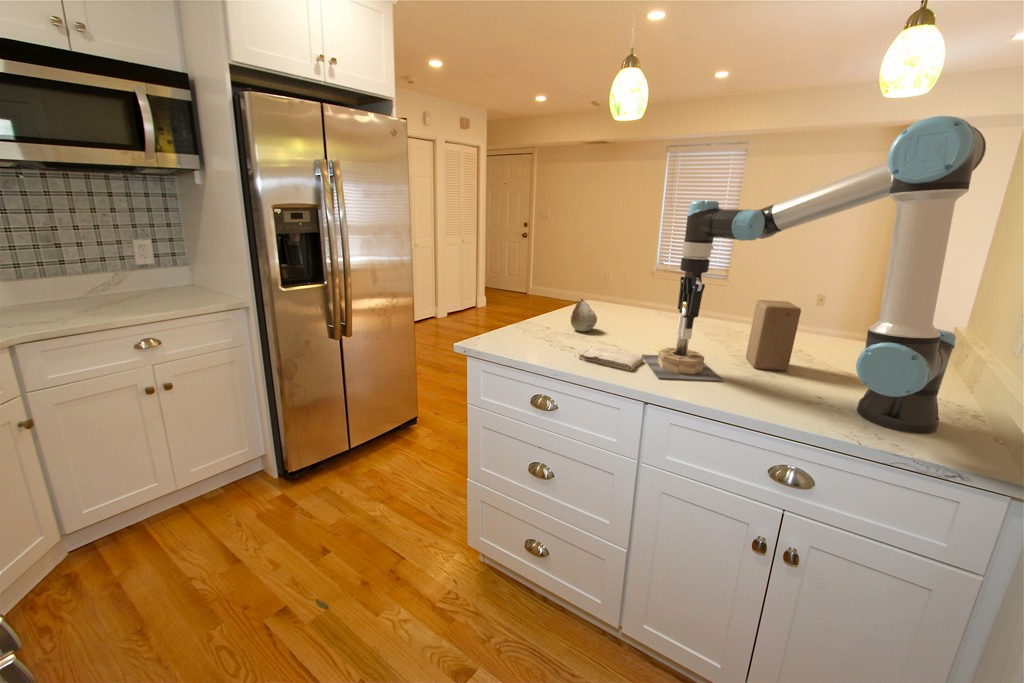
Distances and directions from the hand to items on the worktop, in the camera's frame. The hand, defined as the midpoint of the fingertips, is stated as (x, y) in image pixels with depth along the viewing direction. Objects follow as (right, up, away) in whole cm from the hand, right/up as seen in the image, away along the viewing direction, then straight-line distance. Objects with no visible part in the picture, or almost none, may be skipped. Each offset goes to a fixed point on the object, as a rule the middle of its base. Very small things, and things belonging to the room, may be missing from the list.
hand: (683, 336), depth 137 cm
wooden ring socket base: (0, -10, +3) cm, 10 cm away
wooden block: (+29, -9, +8) cm, 31 cm away
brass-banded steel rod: (0, -5, +2) cm, 6 cm away
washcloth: (-20, -8, +8) cm, 23 cm away
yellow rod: (-2, -5, +17) cm, 18 cm away
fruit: (-24, +3, +41) cm, 47 cm away
